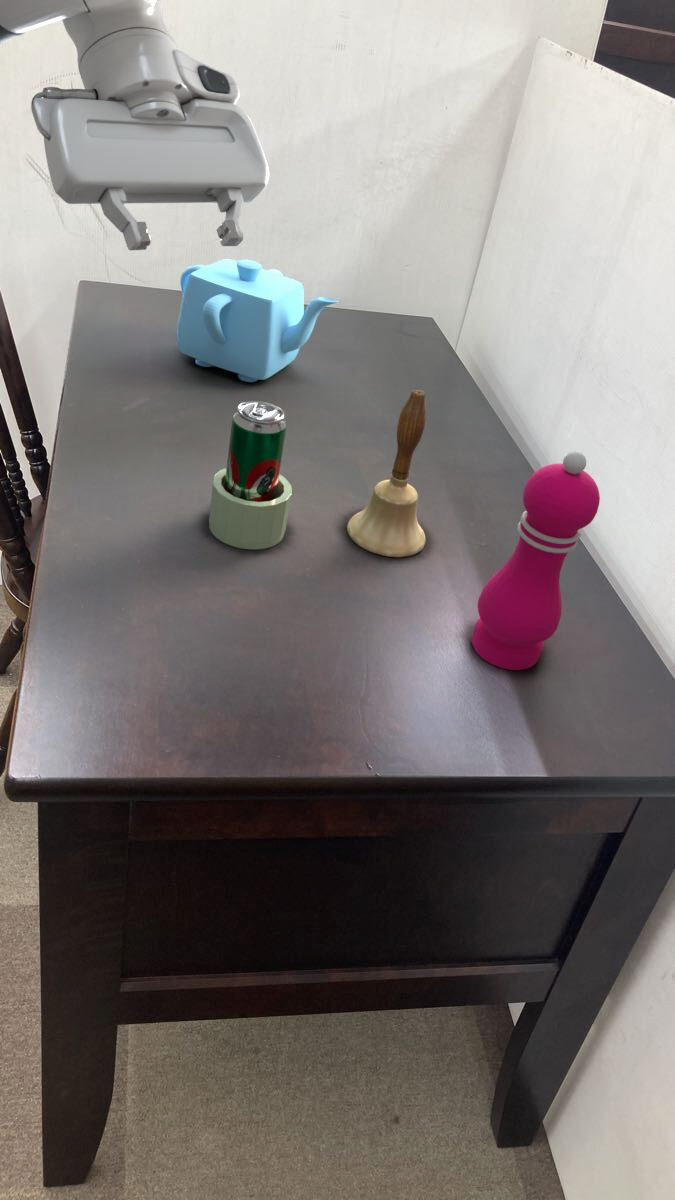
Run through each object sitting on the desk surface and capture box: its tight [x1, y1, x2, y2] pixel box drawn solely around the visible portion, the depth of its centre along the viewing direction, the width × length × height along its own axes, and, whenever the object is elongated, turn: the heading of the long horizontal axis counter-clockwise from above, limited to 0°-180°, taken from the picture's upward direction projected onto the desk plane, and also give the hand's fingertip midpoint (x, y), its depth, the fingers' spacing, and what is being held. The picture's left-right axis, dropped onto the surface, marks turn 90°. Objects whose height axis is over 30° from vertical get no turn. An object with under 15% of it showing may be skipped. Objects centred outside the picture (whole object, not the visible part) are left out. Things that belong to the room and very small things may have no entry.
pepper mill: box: [471, 450, 601, 671], centre depth 75 cm, size 7×7×20 cm
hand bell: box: [346, 389, 427, 558], centre depth 88 cm, size 8×8×16 cm
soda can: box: [224, 400, 288, 502], centre depth 85 cm, size 5×5×12 cm
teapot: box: [176, 258, 339, 383], centre depth 117 cm, size 18×16×14 cm
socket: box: [208, 467, 293, 551], centre depth 88 cm, size 8×8×5 cm
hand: (188, 245), depth 79 cm, fingers open, 8 cm apart
